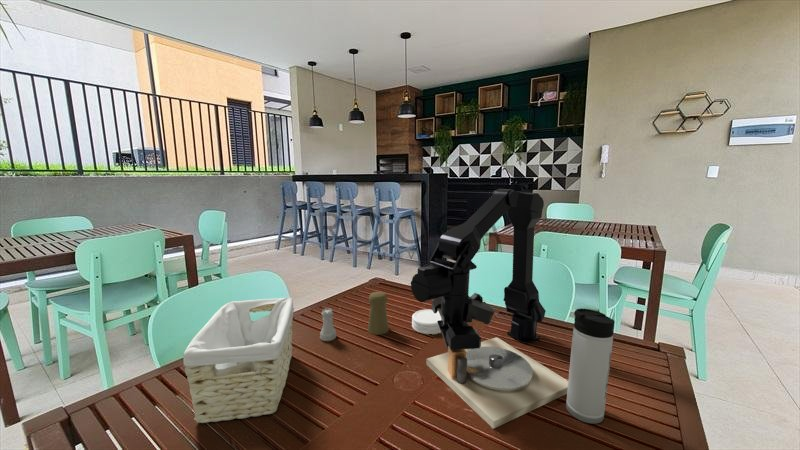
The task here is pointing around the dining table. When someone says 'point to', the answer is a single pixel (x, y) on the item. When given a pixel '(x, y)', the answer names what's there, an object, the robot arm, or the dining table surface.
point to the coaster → (426, 322)
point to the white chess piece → (327, 326)
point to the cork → (378, 314)
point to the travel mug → (589, 365)
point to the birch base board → (494, 403)
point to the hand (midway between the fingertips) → (452, 355)
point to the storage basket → (240, 360)
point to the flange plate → (493, 368)
